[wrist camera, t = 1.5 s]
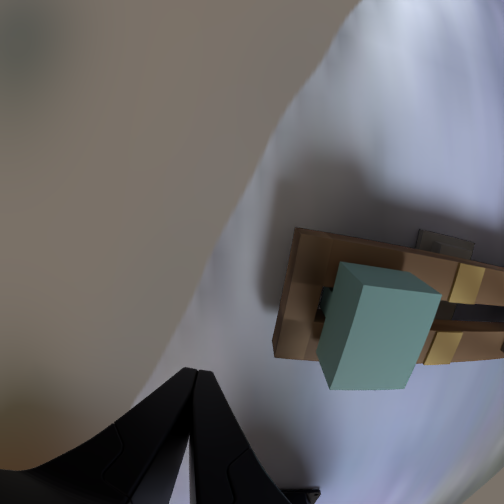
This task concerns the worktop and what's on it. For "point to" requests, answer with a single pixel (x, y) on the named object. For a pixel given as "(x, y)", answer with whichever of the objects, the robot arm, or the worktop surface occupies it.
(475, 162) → the worktop surface
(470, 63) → the worktop surface
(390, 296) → the block
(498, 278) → the brown long slotted block
